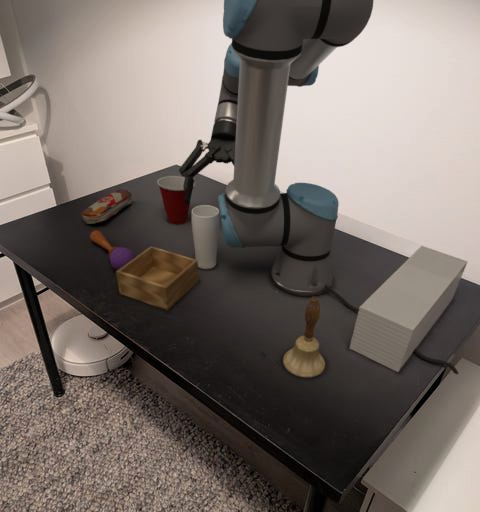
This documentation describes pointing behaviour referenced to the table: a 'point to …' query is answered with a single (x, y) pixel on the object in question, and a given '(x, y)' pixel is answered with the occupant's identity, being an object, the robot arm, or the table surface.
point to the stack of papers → (406, 307)
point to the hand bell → (306, 347)
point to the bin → (158, 277)
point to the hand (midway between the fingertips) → (212, 206)
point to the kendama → (113, 251)
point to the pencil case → (107, 207)
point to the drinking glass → (205, 235)
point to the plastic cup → (174, 198)
